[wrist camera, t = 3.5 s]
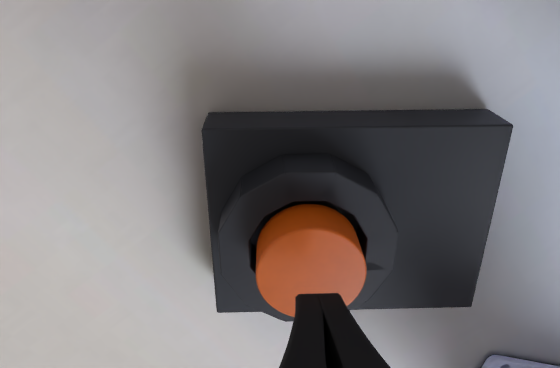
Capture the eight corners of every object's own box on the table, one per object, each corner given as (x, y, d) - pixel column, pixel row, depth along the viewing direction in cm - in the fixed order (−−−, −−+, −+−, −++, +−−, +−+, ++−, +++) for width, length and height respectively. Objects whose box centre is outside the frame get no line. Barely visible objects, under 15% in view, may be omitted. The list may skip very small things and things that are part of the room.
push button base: (488, 108, 19) (540, 140, 16) (453, 278, 23) (488, 335, 19) (208, 112, 19) (194, 145, 15) (220, 283, 23) (212, 342, 19)
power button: (361, 202, 17) (371, 227, 15) (354, 287, 19) (362, 318, 17) (255, 203, 17) (253, 229, 15) (258, 289, 18) (256, 320, 17)
